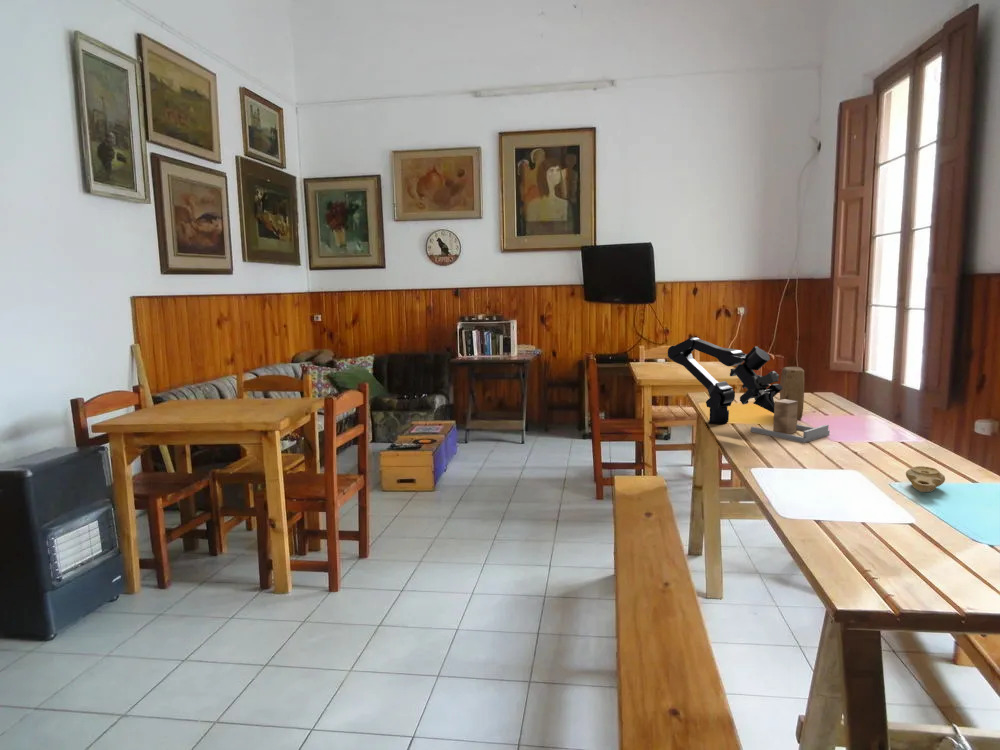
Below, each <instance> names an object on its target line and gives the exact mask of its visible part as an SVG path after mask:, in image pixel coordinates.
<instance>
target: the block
mask: <svg viewBox="0 0 1000 750" xmlns="http://www.w3.org/2000/svg"><path fill="white" fill-rule="evenodd" d="M780 374H781V375H780V383H779V384H780V385H781V386H782V388H783V389H782V390H781V391H780V392H779V400H782V399H787V400H794V401H798V409H797V421H799V420H801V419H802V418H803V414H804V401H805V370H804V369H803V368H802V367H799V366H785V367H783V369H782V371H781V373H780Z"/></svg>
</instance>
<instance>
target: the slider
mask: <svg viewBox="0 0 1000 750" xmlns="http://www.w3.org/2000/svg"><path fill="white" fill-rule="evenodd" d="M774 403H775V405H774V413H773V425H772V427H773V429H772V431H776V432H780V433H785V434H790V435H792V434H794V433H797V429H796V426H797V424H798V423H797V422H798V420H797V409H798V401H794V400H787V399H782V400H780V399H778V400H774Z"/></svg>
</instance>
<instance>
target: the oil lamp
mask: <svg viewBox="0 0 1000 750" xmlns="http://www.w3.org/2000/svg"><path fill="white" fill-rule="evenodd" d="M905 476H906V478H907V480H908V481H909V482H910V483H911V486H912V487H913V488H914V489H915V490H917V491H919V492H920V493H927V492H930V493H931V492H933V491H935V489H936V488H937V487H940V486H942V485H943V484H944V483H945V482H946V476H945V475H944V474H943V473H942V472H940V471H939V470H938V468H934V467H929V466H922V465H921V466H918V465H917V466H913V467H912V468H909V469H907V470H906V472H905Z"/></svg>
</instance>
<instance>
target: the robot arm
mask: <svg viewBox="0 0 1000 750" xmlns="http://www.w3.org/2000/svg"><path fill="white" fill-rule="evenodd" d="M694 351H698V352H701V353H703V354H706V355H709V356H711V357H713V358H715V359H717V360H718V362H719V363H721V364H722V365H724V366H725V367H734V366H736V367H734V368H731V369H730V371H729V372H730V373H729V377H736V376H737V379H739V381H740V382H741V383H742V384H743V385H741V387H742V388H743V389H746V391H745V392H743V393H742V394H741V396H739V402H740V403H741V405H743V406H744V405H748V404H749V401H750V399H753V398H754V401H753V403H752V404H753V405H756V406H758V407H761V408H763V409H765V410H767V411H768V412H771V414H774V405H775V400H774V397H775V396H776V395H778V393H780V391H781V390H782V389H783V388H782V386H781V385H780V383H778V382H779V378H780V374H778V373H777V372H776V371H775V370H773V371H772V370H771V371H770V372H768V373H767V374H765V375H763V376H762V374H761V375H760V374H757V373H756V372H755V371H759V370H760V369H762V367H764V366H765V365H766V364H767V363H768V362H769V361H770V359H771V357H770V355H769V354H768V352H766V351H765V350H763V349H762V348H760V347H759V346H754V347H752V348H751V350H750V351H749V352H747V353H744V352H743V351H742V349H735V348H730V347H729V348H727V347H722V346H719V345H716V344H714V343H711V342H709V341H707V340H703V339H701V338H699V337H697V336H695V337H694V336H693V337H689V338H687V339H686V340H684V341H682V342H679V343H678V344H674V345H671V346H669V347H668V349H667V357H668V359H670V360H671V361H673V362H674V363H675V364H678V365H681V366H683V367H684V368H685V369H686V370H687V371H688V372H689V373H690V374H691V375H692V376H693V377H694V378H695V379H696V380H697V381H698V382H699V383H700V384H701V385H702V386H704V388H705V389H706V390H707V392H708V396H709V398H708V399H707V400H706V401H705V405H706V408H709V420H708V424H715V425H717V424H718V425H727V424H728V423H729V420H730V419H729V417H730V415H729V414H730V411H729V409H728V407H730V406H731V405H732V403H733V402H734V401H735V398H736V392H735V390H734V388H733V387H732V386H730V385H729V383H728V382H727V381H725V380H724V381H719V380H716V379H715V377H713V376H712V375H711V374H710V372H708V371H707V370H706V369H705V368H704V367H703V366H702V365H701V364H700V363H699V362H698V361H697V360H696V359H694V356H693V353H692V352H694ZM773 383H774V384H773Z"/></svg>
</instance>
